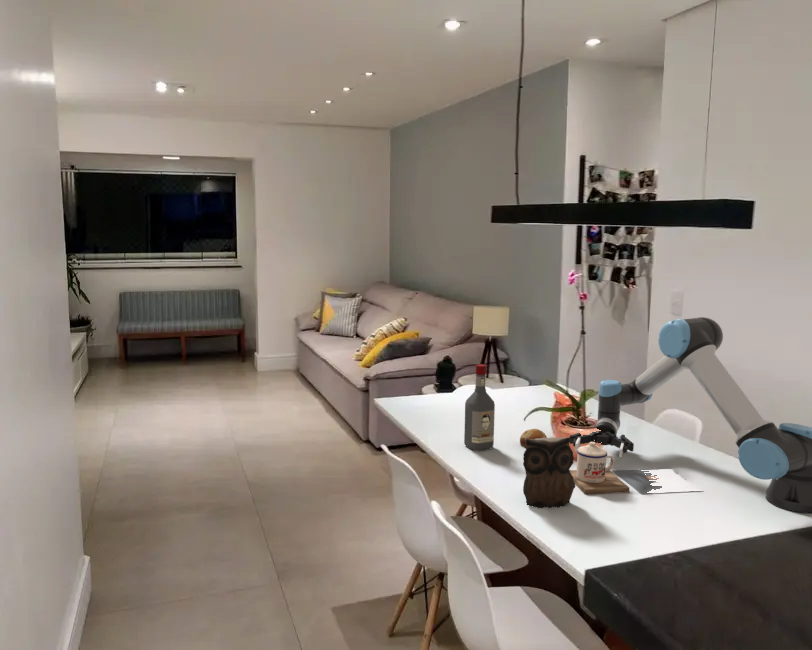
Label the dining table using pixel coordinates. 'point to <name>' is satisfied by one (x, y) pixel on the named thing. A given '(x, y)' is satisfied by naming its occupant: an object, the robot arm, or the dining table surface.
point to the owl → (548, 472)
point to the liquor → (479, 415)
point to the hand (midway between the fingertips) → (598, 450)
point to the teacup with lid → (592, 463)
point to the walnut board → (601, 484)
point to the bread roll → (531, 435)
